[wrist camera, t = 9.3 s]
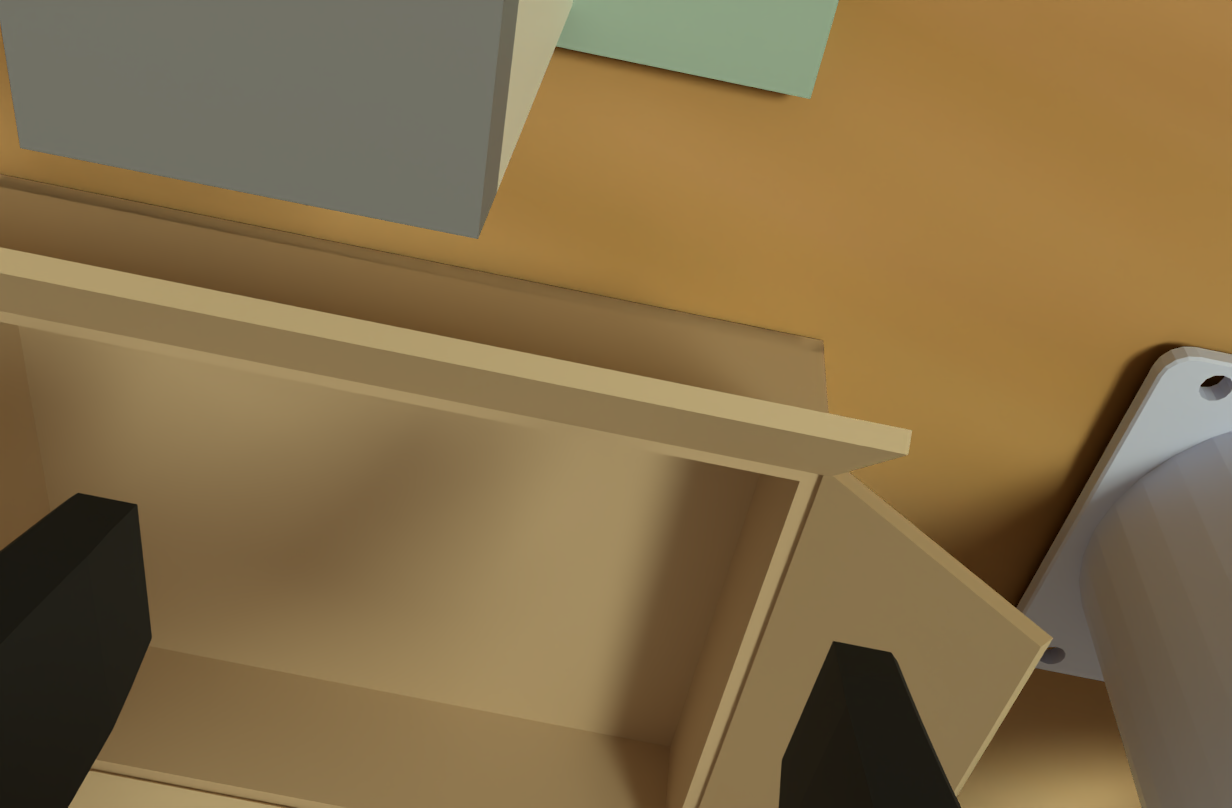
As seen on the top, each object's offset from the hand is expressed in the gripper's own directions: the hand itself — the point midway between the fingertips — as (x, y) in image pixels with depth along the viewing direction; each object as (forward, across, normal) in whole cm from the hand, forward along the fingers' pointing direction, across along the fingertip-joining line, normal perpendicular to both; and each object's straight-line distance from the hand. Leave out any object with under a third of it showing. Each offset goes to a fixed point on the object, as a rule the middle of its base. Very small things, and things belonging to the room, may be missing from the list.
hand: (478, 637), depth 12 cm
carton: (+9, +2, +7) cm, 12 cm away
